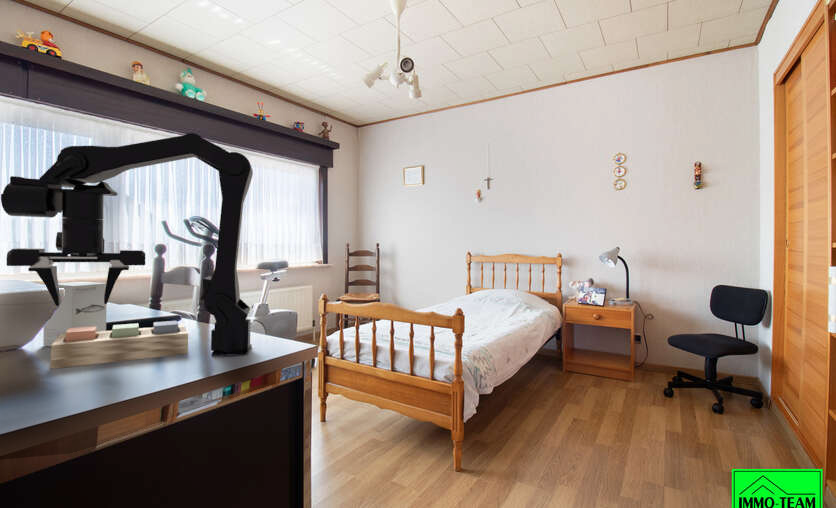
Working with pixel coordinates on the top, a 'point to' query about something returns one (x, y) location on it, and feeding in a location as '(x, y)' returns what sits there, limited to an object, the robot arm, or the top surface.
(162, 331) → the key slate
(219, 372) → the top surface
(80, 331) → the key terracotta
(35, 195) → the robot arm
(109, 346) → the wooden slotted block
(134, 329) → the key sage
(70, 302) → the supplement box
